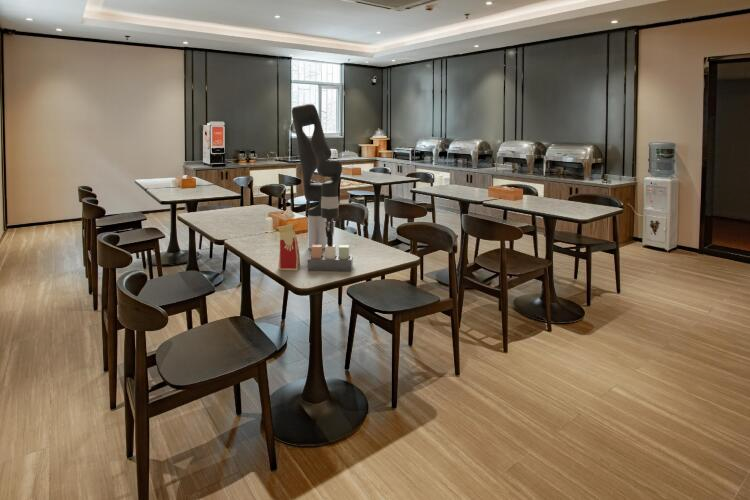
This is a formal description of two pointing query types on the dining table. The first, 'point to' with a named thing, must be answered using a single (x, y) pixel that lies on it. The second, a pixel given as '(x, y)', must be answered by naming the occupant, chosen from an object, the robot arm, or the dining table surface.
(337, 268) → the frame
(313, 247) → the terracotta key
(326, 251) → the ivory key
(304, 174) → the robot arm
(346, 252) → the sage key
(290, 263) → the milk carton
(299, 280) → the dining table surface
